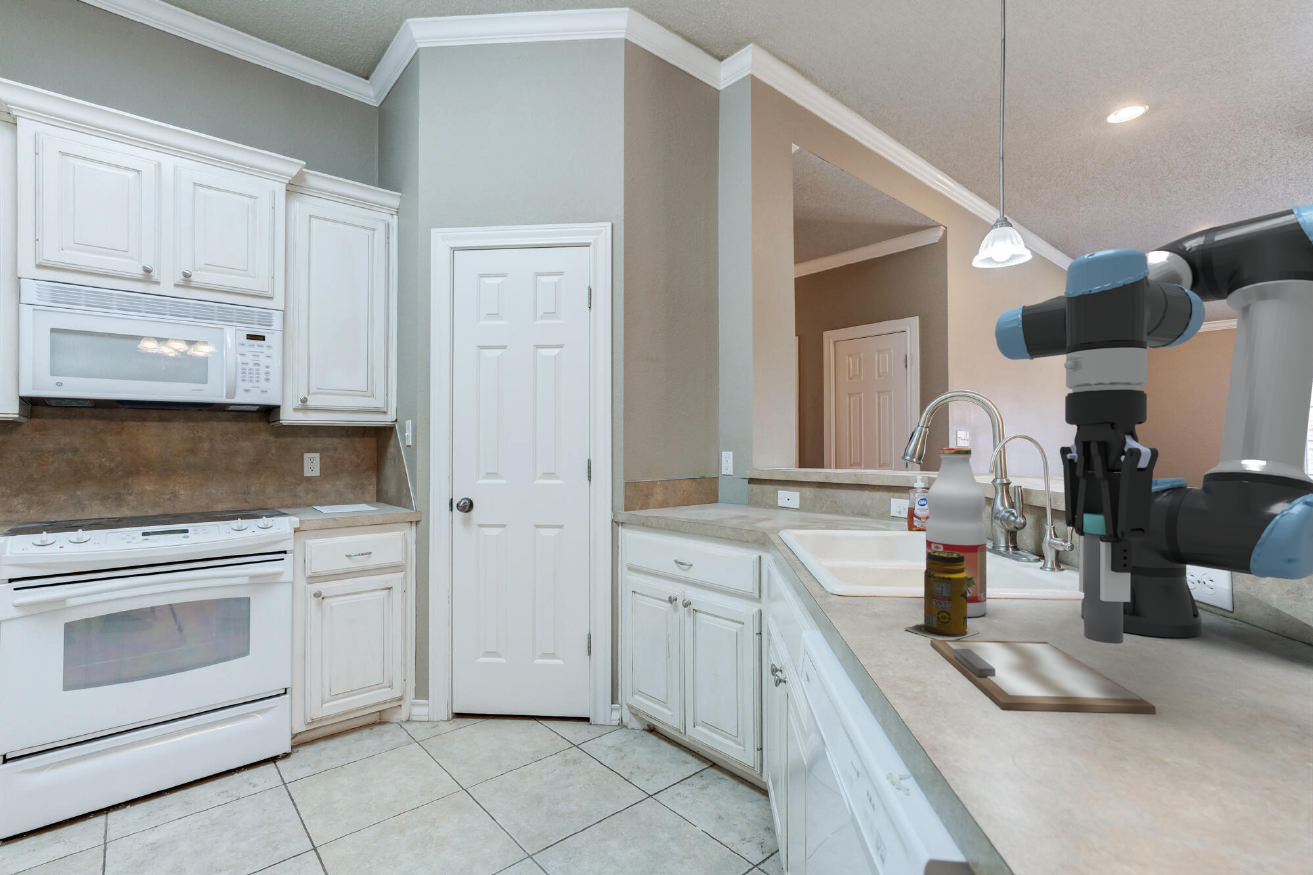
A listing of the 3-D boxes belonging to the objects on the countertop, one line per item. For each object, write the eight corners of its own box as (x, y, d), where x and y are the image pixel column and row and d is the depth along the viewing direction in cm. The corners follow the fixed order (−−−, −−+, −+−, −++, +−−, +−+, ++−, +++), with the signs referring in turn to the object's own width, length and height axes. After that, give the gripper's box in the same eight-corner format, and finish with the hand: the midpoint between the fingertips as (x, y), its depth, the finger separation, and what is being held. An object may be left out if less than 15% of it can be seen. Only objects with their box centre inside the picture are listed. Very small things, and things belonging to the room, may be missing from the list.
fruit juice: (999, 614, 104) (999, 448, 104) (956, 620, 100) (956, 448, 100) (954, 600, 112) (954, 447, 112) (913, 605, 109) (913, 447, 109)
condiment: (979, 633, 94) (979, 554, 94) (947, 643, 90) (947, 560, 90) (935, 621, 100) (935, 547, 100) (903, 630, 96) (903, 553, 96)
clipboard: (1046, 647, 88) (1046, 633, 88) (1155, 713, 67) (1155, 696, 67) (930, 645, 89) (930, 631, 89) (1002, 709, 68) (1002, 692, 68)
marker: (1109, 633, 72) (1110, 513, 72) (1132, 644, 68) (1133, 517, 68) (1075, 632, 72) (1076, 512, 72) (1096, 643, 68) (1096, 516, 69)
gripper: (1032, 395, 79) (1031, 579, 79) (1118, 383, 62) (1117, 615, 62) (1093, 395, 78) (1092, 580, 78) (1196, 383, 62) (1195, 617, 62)
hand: (1103, 595), depth 70 cm, fingers closed on marker, 3 cm apart
